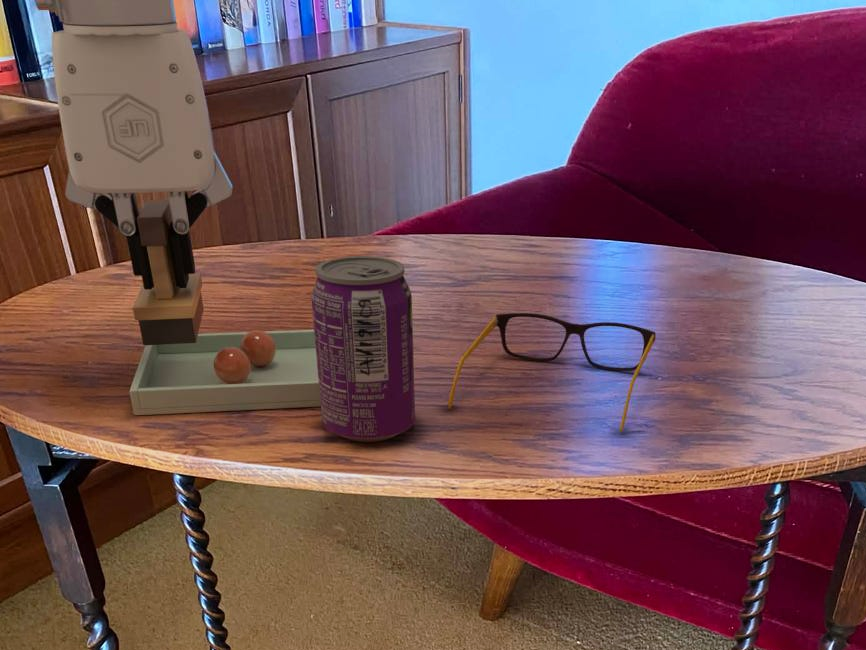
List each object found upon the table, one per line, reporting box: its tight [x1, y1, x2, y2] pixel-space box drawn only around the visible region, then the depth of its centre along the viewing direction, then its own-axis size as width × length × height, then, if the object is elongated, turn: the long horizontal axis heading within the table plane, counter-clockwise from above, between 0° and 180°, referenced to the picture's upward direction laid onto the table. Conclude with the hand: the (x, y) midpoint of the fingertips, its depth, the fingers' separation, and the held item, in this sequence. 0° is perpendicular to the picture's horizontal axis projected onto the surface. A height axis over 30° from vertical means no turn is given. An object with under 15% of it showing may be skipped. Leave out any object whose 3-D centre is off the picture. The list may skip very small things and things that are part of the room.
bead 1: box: [213, 347, 251, 384], centre depth 79 cm, size 3×3×3 cm
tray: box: [128, 329, 321, 416], centre depth 81 cm, size 18×13×2 cm
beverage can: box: [310, 255, 416, 443], centre depth 70 cm, size 7×7×12 cm
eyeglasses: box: [447, 312, 657, 433], centre depth 80 cm, size 14×14×4 cm
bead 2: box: [240, 329, 276, 367], centre depth 82 cm, size 3×3×3 cm
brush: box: [132, 199, 205, 346], centre depth 76 cm, size 4×9×9 cm, turn 9°
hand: (167, 282), depth 76 cm, fingers closed on brush
